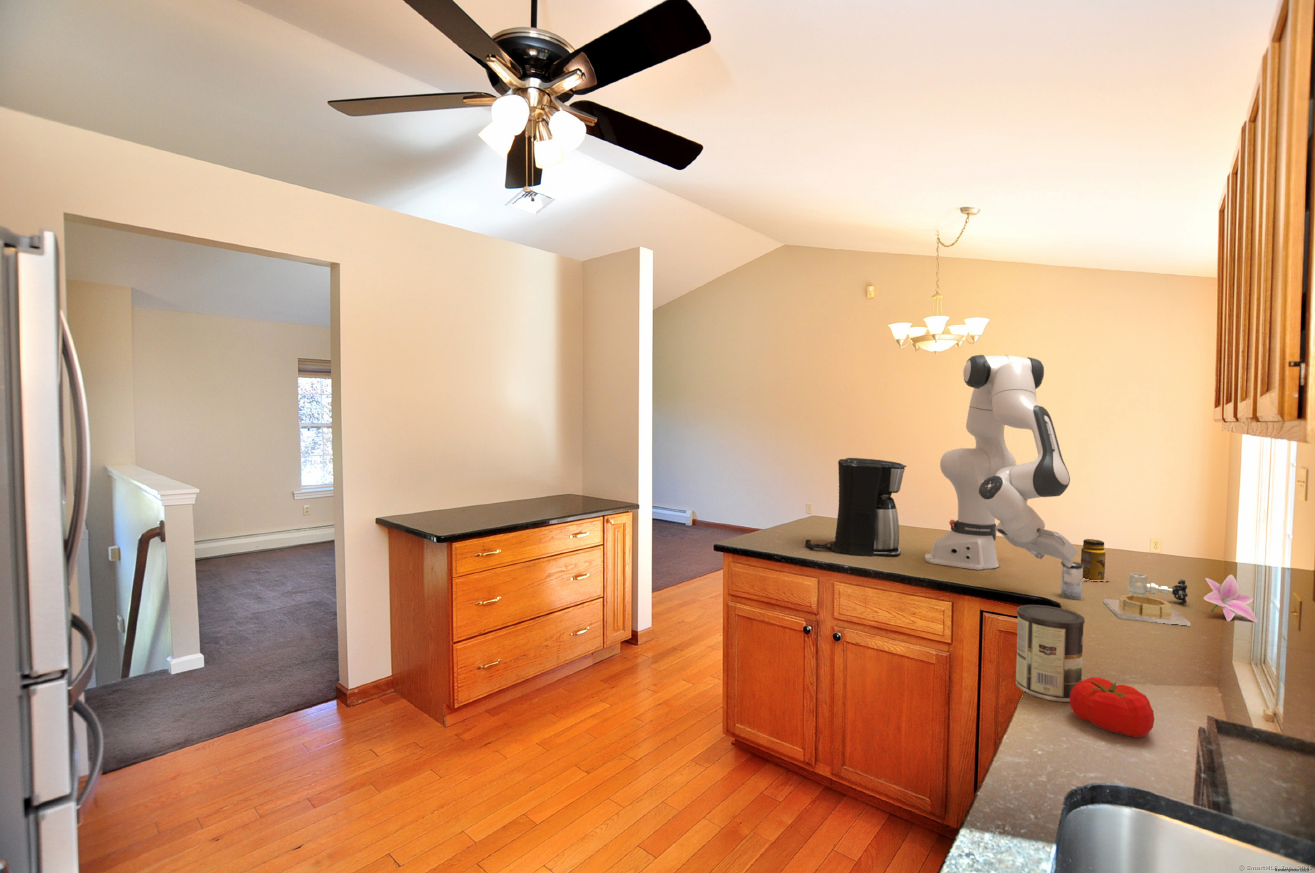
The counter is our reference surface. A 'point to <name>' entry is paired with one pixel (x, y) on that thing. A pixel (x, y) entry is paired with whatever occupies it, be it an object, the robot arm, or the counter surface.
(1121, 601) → the flange
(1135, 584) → the valve
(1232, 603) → the lily
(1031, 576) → the counter surface
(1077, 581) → the black-capped jar
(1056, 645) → the coffee can
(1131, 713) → the tomato
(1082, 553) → the condiment
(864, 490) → the coffee maker
